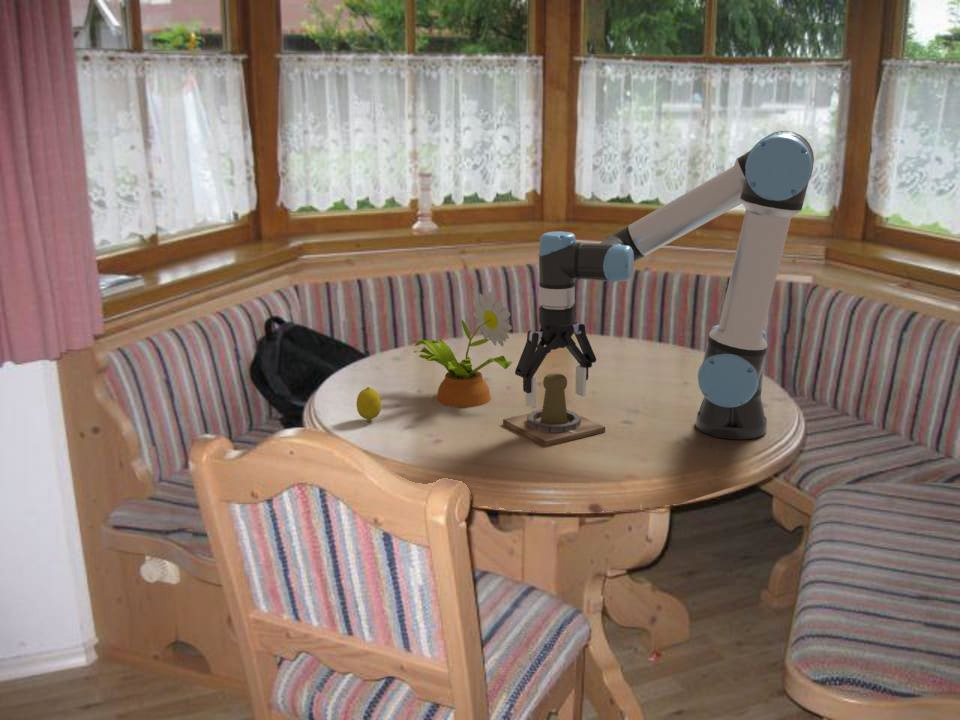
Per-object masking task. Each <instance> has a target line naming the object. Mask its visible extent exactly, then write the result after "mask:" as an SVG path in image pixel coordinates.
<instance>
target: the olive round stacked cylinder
mask: <svg viewBox="0 0 960 720" xmlns="http://www.w3.org/2000/svg"><path fill="white" fill-rule="evenodd" d="M542 383H543V388H544V389H545V391H544V398H543V404H542V409H541V410H542V415H541V422H540V423H544V424H550V425H559V424H566V423H568V420H567V411H566V409H567V403H566V393H565V389H566V388H567V385H568V379H567V378H566V376H565V375H564V374H562V373H548V374H546V375H544V377H543V381H542Z"/></svg>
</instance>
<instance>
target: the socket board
mask: <svg viewBox="0 0 960 720" xmlns="http://www.w3.org/2000/svg"><path fill="white" fill-rule="evenodd" d="M566 411H567V420H568V423H566V424H559V425H550V424H544V423H540V422H541V415H542V409H538V410H534V411H532V412H529V413H526V414H521V415H517V416H512V417H507V418H503V419H502V425H504V426H506V427H508V428H509V429H511V430H513V431H515V432H517V433H519V434H521V435H523V436H525V437H526V438H529V439H530V440H533V441H535V442H536V443H538V444H540V445H542V446H544V447H550V446H554V445H559V444H562V443H567V442H570V441H574V440H578V439H582V438H587V437H591V436H594V435H599V434H604V433H606V426H605V425H602V424H600V423H599V422H595V421H593V420H591V419H589V418H587V417H584V416H583V415H581V414H578V413H575V412H574V411H572V410H569V409H567V408H566Z"/></svg>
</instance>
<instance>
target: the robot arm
mask: <svg viewBox="0 0 960 720" xmlns="http://www.w3.org/2000/svg"><path fill="white" fill-rule="evenodd" d="M814 162H815V157H814V152H813V149H812V146H811V145H810V143H809V141H808V139H806V138H805V137H804V136H802V135H801V134H799V133H797V132H795V131H792V130H791V131H789V130H779V131H775V132H772V133H771V134H768V135H767V136H765V137H763V138H761V139H760V140H759V141H758V142H757V143H755V145H753V147H752V148H751V149H750V150H748V151H747V152H745V153H744V154H743V155H741V156H739V157H736V159H735V162H734V165H733V166H731V167H730V168H728V169H725V170H724V171H722V172H721V173H719V174H716V176H714V177H712V178H710V179H709V180H706V181H705V182H703V183H702V184H700V185H698V186H696V187H694V188H693V189H691V190H689V191H687V192H686V193H684V194H682V195H680V196H678V197H677V198H674V199H673V200H671V201H670V202H668V203H666V204H664V205H662V206H661V207H659V208H657V209H655V210H653V211H652V212H650V213H648V214H647V215H645V216H643V217H641V218H640V219H638V220H636V221H633V222H632V223H631V224H629V225H628V226H626V227H624V228H622V229H620V230H619V231H617V232H614V233H611V234H610V235H608V236H607V237H605V239H604V240H603V241H601V242H599V243H584V242H583V243H582V242H581V243H580V242H577V239H576V235H575V234H574V233H573V232H569V231H548V232H544V233H543V234H542V235H541V236H540V237H539V247H538V248H539V250H538V256H537V257H538V269H539V270H538V271H539V272H538V275H539V277H538V278H539V279H538V280H539V281H538V282H539V283H538V288H539V290H538V296H539V297H538V298H539V299H538V300H539V301H538V303H539V305H540V306H539V307H538V323H539V324H540V325H539V326H540V328H539V331H532V330H528V332H527V336H526V342H525V344H524V347H523V349H522V353H521V355H520V358H519V361H518V363H517V366H516V368H515V371H514V375H516V376H518V377H521V378H522V389H523V390H522V391H523V392H524V393H525V406H527V407H529V408H531V409H536V408H537V378H535V377H534V376H535V374H537V371H538V370H539V368H540V366H541V364H542V363H543V361H544V360H545V359H546V357H547V355H548V354H549V353H551V351H553V350H554V351H555V350H557V349H565V348H566V349H567V350H568V352H569V353H570V354H571V355H572V357H573V358H574V359H575V360H576V362H577V363H578V364H577V365H576V364H575V394H576V395H578V396H581V397H583V398H584V397H586V396H587V381H588V380H589V368H592V367H593V363H596V362H597V358H596V355H595V352H594V350H593V348H592V345H591V343H590V341H589V338H588V336H587V333H586V325H585V324H584V323H580V322H577V321H576V322H575V306H574V305H575V304H576V303H575V302H576V299H575V298H576V297H575V296H576V294H575V293H576V291H575V289H576V287H575V286H576V283H575V281H576V280H586V281H601V282H602V281H603V282H610V283H617V282H627V281H629V280H630V279H631V278H632V276H633V273H634V272H633V271H634V263H635V262H638V261H639V260H641V259H644V258H645V257H646V256H648V255H649V254H651V253H653V252H655V251H657V250H659V249H661V248H663V247H664V246H666V245H668V244H670V243H671V242H674V241H675V240H677V239H679V238H681V237H683V236H685V235H686V234H688V233H691V232H692V231H695V230H696V229H697V228H699V227H701V226H703V225H705V224H707V223H709V222H710V221H712V220H714V219H716V218H718V217H720V216H723V214H725V213H727V212H730V211H731V210H732V209H735V208H736V207H738V206H740V205H742V206H744V209H745V212H744V216H743V220H742V224H741V229H740V233H739V238H738V242H737V247H736V251H735V255H734V260H733V264H732V268H731V273H730V277H729V282H728V286H727V288H726V289H727V290H726V294H725V298H724V302H723V308H722V310H721V311H722V312H721V316H720V318H719V319H720V321H719V323H718V324H717V325H716V324H715V325H714V326H712V328H711V329H710V331H709V334H708V337H707V338H708V339H707V343H706V347H705V351H704V355H703V360H702V363H701V364H700V366H699V369H698V372H697V382H698V387H699V390H700V392H701V394H702V395H703V399H702V401H701V405H700V407H699V410H698V411H697V412H696V419H695V420H696V421H695V427H696V428H697V430H699V431H700V432H702V433H704V434H706V435H709V436H711V437H712V436H713V437H714V438H715V437H716V438H719V439H727V440H728V439H729V440H749V439H750V440H752V439H757V438H759V437H762V436H764V435H765V434H766V433H767V429H768V419H767V417H766V415H765V411H764V405H763V399H762V390H763V378H764V366H765V358H766V354H767V349H768V343H767V342H768V341H767V333H766V331H765V330H764V329H765V325H766V321H767V317H768V313H769V310H770V309H769V308H770V305H771V300H772V297H773V292H774V290H775V285H776V280H777V276H778V272H779V268H780V265H781V260H782V256H783V252H784V248H785V244H786V241H787V237H788V232H789V228H790V226H791V225H790V223H791V219H792V218H793V217H794V216H795V215H797V214H799V213H800V212H802V210H803V205H804V202H805V198H806V194H807V189H808V186H809V182H810V180H811V178H812V175H813V170H814ZM573 334H574V335H575V339H576V341H577V343H578V346H579V347H578V346H577V343H576V342H575V340H574V339H573V338H572V336H573Z"/></svg>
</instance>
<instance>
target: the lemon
mask: <svg viewBox="0 0 960 720" xmlns="http://www.w3.org/2000/svg"><path fill="white" fill-rule="evenodd" d="M356 409H357V410H356V411H357V413H358V414H359V416H360V417H361V418H362V419H365V420H367V422H371V421H372V420H373V419H375V418H376V417H378V416H379V414H380V413H381V410H382V399H381V396H380V394H379V392H378V391H377V390H376V389H374V388H372V387H370V386H367V387H366V388H364V389H362V390H361V391H359V393H358V395H357V398H356Z"/></svg>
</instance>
